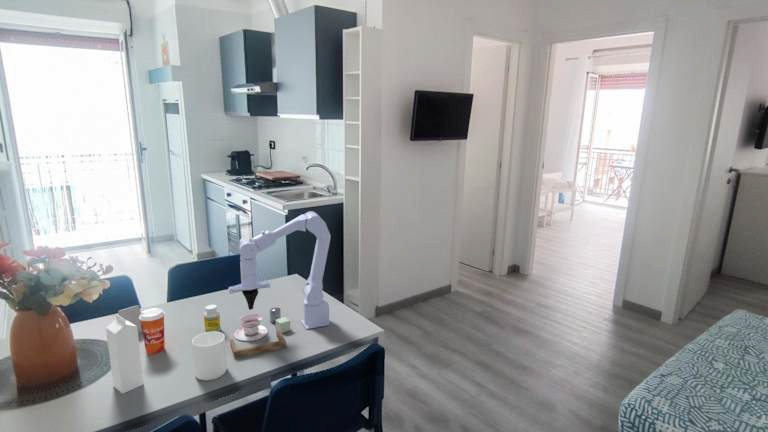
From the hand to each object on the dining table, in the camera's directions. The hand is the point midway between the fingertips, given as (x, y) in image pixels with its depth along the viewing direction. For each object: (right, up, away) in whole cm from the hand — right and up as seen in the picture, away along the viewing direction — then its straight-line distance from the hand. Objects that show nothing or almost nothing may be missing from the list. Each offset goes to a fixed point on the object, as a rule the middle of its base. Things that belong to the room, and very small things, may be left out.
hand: (250, 308), depth 160 cm
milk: (-26, -16, -32) cm, 44 cm away
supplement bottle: (-15, -9, +2) cm, 18 cm away
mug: (-6, -15, -24) cm, 29 cm away
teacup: (0, -10, +1) cm, 10 cm away
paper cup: (-29, -12, -12) cm, 33 cm away
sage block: (+11, -9, +4) cm, 15 cm away
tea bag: (-44, -9, -1) cm, 45 cm away
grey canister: (+6, -7, +11) cm, 15 cm away
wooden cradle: (+5, -12, -8) cm, 15 cm away
